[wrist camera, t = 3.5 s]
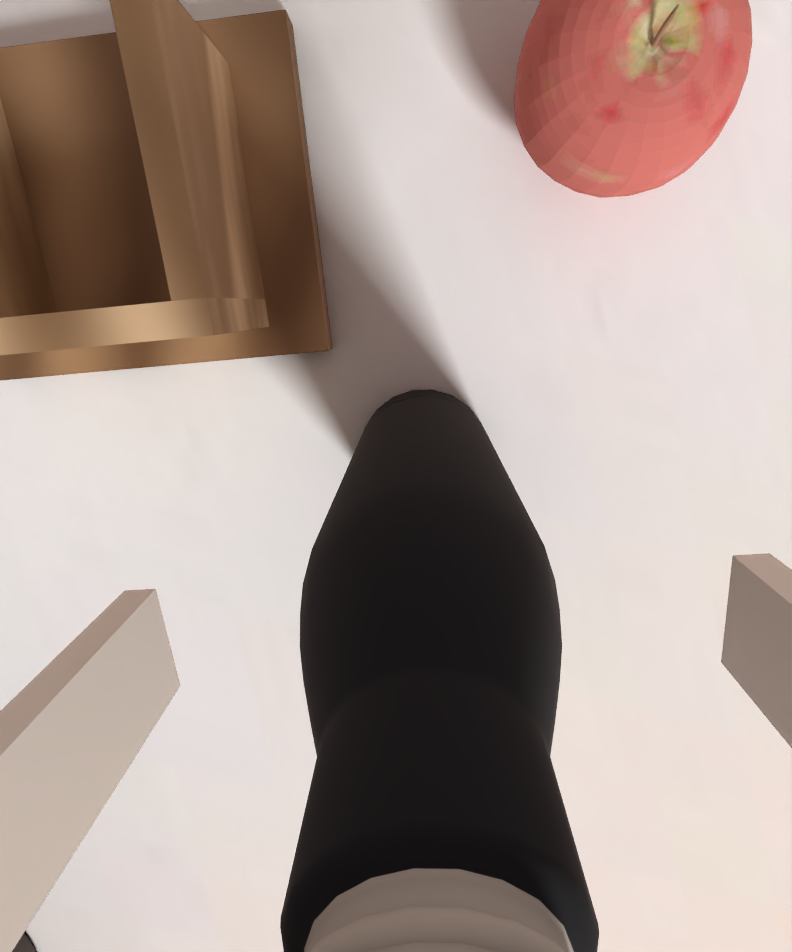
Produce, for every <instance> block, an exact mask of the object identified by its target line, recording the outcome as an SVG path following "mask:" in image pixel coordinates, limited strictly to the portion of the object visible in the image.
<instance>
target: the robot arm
mask: <svg viewBox="0 0 792 952" xmlns="http://www.w3.org/2000/svg"><path fill="white" fill-rule="evenodd" d="M721 662H722V664H723V665H724V666H725V667H726V669H727V670H728V671H729V672H730V673H731V675H732V676H733V677H734V678H735V680H736V681H737V682H738V683H739V684H740V686H741V687H742V688H743V689H744V690H745V692H746V693H747V694H748V695H749V697H750V698H751V699H752V700H753V701H754V703H755V704H756V705H757V706H758V708H759V709H760V710H761V711H762V712H763V714H764V715H765V716H766V717H767V719H768V720H769V721H770V722H771V723H772V725H773V726H774V727H775V728H776V730H777V731H778V732H779V733H780V734H781V736H782V737H783V738H784V739H785V740H786V742H787V743H788V744H789V745H790V747H791V748H792V570H791V569H790V568H788V567H787V566H786V565H784V564H783V563H782V562H780V561H779V560H778V559H776V558H775V557H773V556H772V555H771V554H752V555H735V556H733V558H732V567H731V577H730V586H729V595H728V604H727V613H726V623H725V632H724V641H723V650H722V660H721ZM179 687H180V683H179V679H178V675H177V671H176V667H175V663H174V659H173V655H172V651H171V647H170V643H169V640H168V636H167V632H166V628H165V624H164V620H163V616H162V612H161V608H160V604H159V600H158V596H157V592H156V589H146V590H129V591H124V592H123V593H122V594H121V595H120V596H119V597H118V598H117V599H116V600H115V601H114V602H113V603H111V604H110V605H109V606H108V607H107V608H106V609H105V610H104V611H103V612H102V613H101V614H100V615H99V616H98V617H97V618H96V619H95V620H94V621H93V622H92V623H91V624H90V625H89V626H88V627H87V628H86V629H85V630H84V631H83V632H82V633H81V634H80V635H79V636H77V637H76V638H75V639H74V640H73V641H72V642H71V643H70V644H69V645H68V646H67V647H66V648H65V649H64V650H63V651H62V652H61V653H60V654H59V655H58V656H57V657H56V658H55V659H54V660H53V661H52V662H51V663H50V664H49V665H48V666H47V667H46V668H44V669H43V670H42V671H41V672H40V673H39V674H38V675H37V676H36V677H35V678H34V679H33V680H32V681H31V682H30V683H29V684H28V685H27V686H26V687H25V688H24V689H23V690H22V691H21V692H20V693H19V694H18V695H17V696H16V697H15V698H14V699H13V700H11V701H10V702H9V703H8V704H7V705H6V706H5V707H4V708H3V709H2V710H1V711H0V952H36V951H35V949H34V947H33V945H32V944H31V942H30V941H29V939H28V938H27V937H26V935H25V934H24V932H25V930H26V929H27V927H28V925H29V924H30V922H31V921H32V919H33V918H34V916H35V914H36V913H37V911H38V910H39V908H40V906H41V905H42V903H43V902H44V900H45V899H46V897H47V895H48V894H49V892H50V891H51V889H52V888H53V886H54V884H55V883H56V881H57V880H58V878H59V876H60V875H61V873H62V872H63V870H64V869H65V867H66V865H67V864H68V862H69V861H70V859H71V858H72V856H73V854H74V853H75V851H76V850H77V848H78V846H79V845H80V843H81V842H82V840H83V839H84V837H85V835H86V834H87V832H88V831H89V829H90V827H91V826H92V824H93V823H94V821H95V820H96V818H97V816H98V815H99V813H100V812H101V810H102V809H103V807H104V805H105V804H106V802H107V801H108V799H109V797H110V796H111V794H112V793H113V791H114V790H115V788H116V786H117V785H118V783H119V782H120V780H121V779H122V777H123V775H124V774H125V772H126V771H127V769H128V767H129V766H130V764H131V763H132V761H133V760H134V758H135V756H136V755H137V753H138V752H139V750H140V748H141V747H142V745H143V744H144V742H145V741H146V739H147V737H148V736H149V734H150V733H151V731H152V730H153V728H154V726H155V725H156V723H157V722H158V720H159V718H160V717H161V715H162V714H163V712H164V711H165V709H166V707H167V706H168V704H169V703H170V701H171V700H172V698H173V696H174V695H175V693H176V692H177V690H178V688H179Z"/></svg>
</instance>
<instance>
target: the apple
mask: <svg viewBox="0 0 792 952" xmlns="http://www.w3.org/2000/svg"><path fill="white" fill-rule="evenodd" d="M751 46H752V25H751V9H750V6H749V2H748V0H541V2H540V4H539V6H538V9H537V11H536V13H535V15H534V17H533V19H532V21H531V24H530V26H529V28H528V31H527V33H526V36H525V40H524V44H523V47H522V51H521V55H520V58H519V62H518V69H517V78H516V86H515V94H514V105H515V115H516V124H517V127H518V130H519V133H520V136H521V139H522V141H523V144H524V147H525V149H526V150H527V152H528V153H529V154H530V156H531V157H532V159H533V160H534V162H535V163H536V165H537V166H538V167H539V168H540V169H541V170H543V171H544V172H545V173H546V174H547V175H548V176H550V177H551V178H552V179H553V180H554V181H556V182H558V183H560V184H562V185H564V186H566V187H568V188H570V189H572V190H574V191H576V192H579V193H583V194H587V195H592V196H596V197H616V196H629V195H634V194H638V193H641V192H644V191H648V190H651V189H654V188H657V187H660V186H662V185H664V184H666V183H667V182H669V181H671V180H672V179H674V178H676V177H677V176H679V175H681V174H682V173H684V172H685V171H686V170H688V169H689V168H690V167H691V166H692V165H693V164H694V163H695V162H696V161H697V160H698V159H699V158H700V157H701V156H702V155H703V154H704V153H705V152H706V151H707V150H708V149H709V148H710V146H711V145H712V144H713V143H714V141H715V140H716V139H717V137H718V136H719V134H720V132H721V131H722V129H723V127H724V125H725V124H726V122H727V120H728V119H729V117H730V115H731V114H732V112H733V110H734V108H735V106H736V104H737V101H738V99H739V96H740V93H741V90H742V87H743V85H744V82H745V79H746V76H747V73H748V66H749V59H750V53H751Z"/></svg>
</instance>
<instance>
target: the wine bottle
mask: <svg viewBox="0 0 792 952" xmlns="http://www.w3.org/2000/svg"><path fill="white" fill-rule="evenodd" d="M300 652H301V662H302V671H303V681H304V687H305V693H306V699H307V705H308V710H309V716H310V722H311V728H312V733H313V738H314V743H315V748H316V753H317V760H316V764H315V769H314V773H313V778H312V782H311V786H310V791H309V795H308V800H307V804H306V809H305V813H304V817H303V822H302V826H301V831H300V835H299V840H298V844H297V848H296V853H295V857H294V862H293V866H292V871H291V875H290V879H289V884H288V888H287V893H286V897H285V902H284V906H283V910H282V915H281V926H280V927H281V934H282V941H283V948H284V952H597V947H598V938H599V928H598V922H597V918H596V915H595V912H594V908H593V905H592V901H591V898H590V894H589V891H588V887H587V884H586V880H585V877H584V873H583V870H582V866H581V863H580V859H579V856H578V852H577V849H576V845H575V842H574V838H573V835H572V832H571V828H570V825H569V821H568V818H567V814H566V811H565V807H564V804H563V800H562V797H561V793H560V790H559V786H558V783H557V779H556V776H555V772H554V769H553V765H552V762H551V758H550V753H551V746H552V739H553V732H554V725H555V717H556V708H557V700H558V691H559V683H560V669H561V653H562V639H561V624H560V609H559V603H558V596H557V590H556V583H555V579H554V576H553V572H552V569H551V566H550V563H549V560H548V556H547V553H546V550H545V547H544V544H543V542H542V540H541V539H540V537H539V535H538V533H537V531H536V529H535V527H534V525H533V523H532V521H531V519H530V517H529V515H528V513H527V511H526V509H525V507H524V505H523V503H522V502H521V500H520V498H519V496H518V494H517V492H516V490H515V488H514V486H513V484H512V482H511V480H510V478H509V476H508V474H507V472H506V470H505V468H504V467H503V465H502V463H501V461H500V459H499V457H498V455H497V453H496V451H495V449H494V447H493V445H492V443H491V441H490V439H489V437H488V435H487V433H486V431H485V430H484V428H483V426H482V424H481V422H480V421H479V419H478V418H477V417H476V415H475V414H474V413H473V411H472V410H471V409H470V407H468V406H467V405H465V404H464V403H463V402H461V401H460V400H458V399H457V398H455V397H454V396H452V395H449V394H446V393H442V392H439V391H435V390H412V391H409V392H406V393H404V394H401V395H398V396H395V397H393V398H391V399H390V400H389V401H387V402H386V403H385V404H384V405H382V406H381V407H380V408H378V409H377V410H376V412H375V413H374V415H373V416H372V418H371V419H370V421H369V422H368V424H367V425H366V427H365V429H364V432H363V434H362V436H361V438H360V441H359V443H358V445H357V448H356V450H355V452H354V454H353V457H352V459H351V461H350V464H349V466H348V468H347V470H346V473H345V475H344V477H343V480H342V482H341V484H340V486H339V489H338V491H337V493H336V496H335V498H334V500H333V502H332V505H331V507H330V509H329V512H328V514H327V516H326V518H325V521H324V523H323V525H322V528H321V530H320V532H319V534H318V537H317V539H316V541H315V544H314V546H313V548H312V551H311V555H310V559H309V563H308V567H307V570H306V574H305V578H304V582H303V589H302V600H301V611H300Z"/></svg>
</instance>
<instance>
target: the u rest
mask: <svg viewBox="0 0 792 952" xmlns="http://www.w3.org/2000/svg"><path fill="white" fill-rule="evenodd" d="M110 4H111V9H112V14H113V19H114V24H115V29H116V32H115V33H107V34H100V35H92V36H85V37H77V38H70V39H62V40H55V41H48V42H40V43H33V44H25V45H18V46H10V47H3V48H0V380H10V379H21V378H32V377H43V376H54V375H65V374H76V373H87V372H98V371H109V370H120V369H131V368H143V367H154V366H165V365H176V364H187V363H198V362H209V361H220V360H231V359H242V358H253V357H264V356H275V355H286V354H297V353H308V352H319V351H329V350H331V349H332V343H331V335H330V326H329V318H328V310H327V302H326V294H325V286H324V278H323V270H322V262H321V254H320V245H319V237H318V229H317V221H316V213H315V205H314V197H313V189H312V181H311V172H310V164H309V156H308V148H307V140H306V132H305V124H304V116H303V108H302V99H301V91H300V83H299V75H298V67H297V59H296V51H295V43H294V35H293V26H292V23H291V21H290V19H289V16H288V14H287V12H286V10H279V11H271V12H264V13H256V14H249V15H241V16H234V17H227V18H219V19H212V20H204V21H197V22H195V21H194V19H193V18H192V17H191V16H190V14H189V13H188V12H187V11H186V9H185V8H184V7H183V6H182V4H181V3H180V2H179V1H178V0H110Z"/></svg>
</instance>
